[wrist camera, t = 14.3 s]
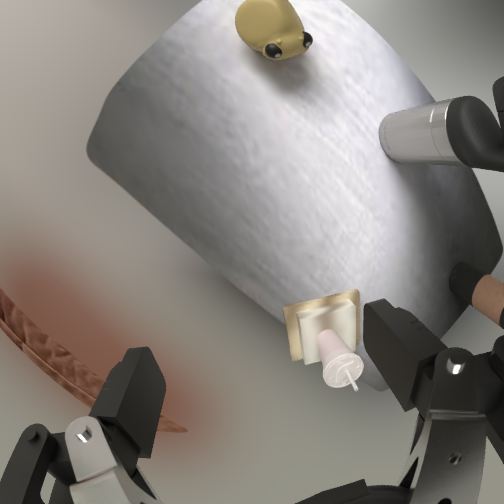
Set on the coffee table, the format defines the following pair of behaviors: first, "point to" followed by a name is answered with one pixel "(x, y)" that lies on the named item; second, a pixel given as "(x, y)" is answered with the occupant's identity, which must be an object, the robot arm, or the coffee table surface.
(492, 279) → the travel mug
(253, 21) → the yellow toy creature
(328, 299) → the base
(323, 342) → the smoothie
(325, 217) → the coffee table surface
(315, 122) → the coffee table surface
